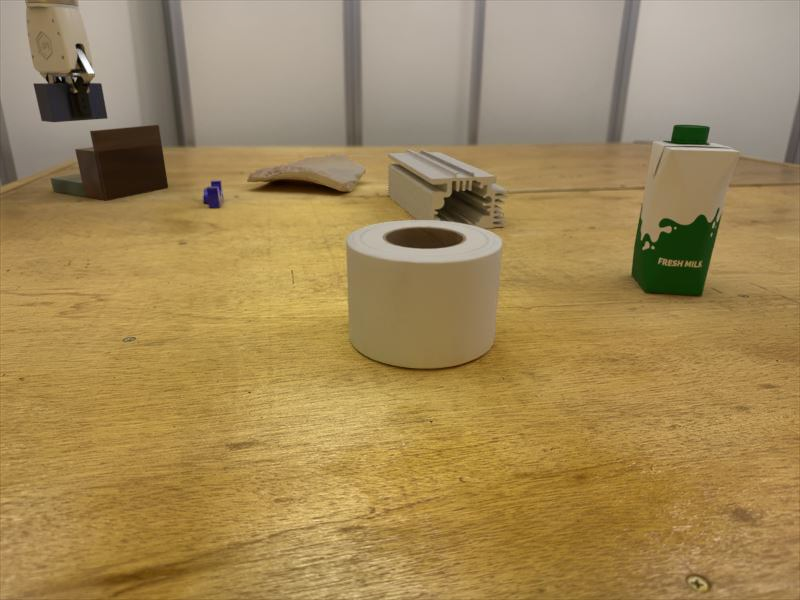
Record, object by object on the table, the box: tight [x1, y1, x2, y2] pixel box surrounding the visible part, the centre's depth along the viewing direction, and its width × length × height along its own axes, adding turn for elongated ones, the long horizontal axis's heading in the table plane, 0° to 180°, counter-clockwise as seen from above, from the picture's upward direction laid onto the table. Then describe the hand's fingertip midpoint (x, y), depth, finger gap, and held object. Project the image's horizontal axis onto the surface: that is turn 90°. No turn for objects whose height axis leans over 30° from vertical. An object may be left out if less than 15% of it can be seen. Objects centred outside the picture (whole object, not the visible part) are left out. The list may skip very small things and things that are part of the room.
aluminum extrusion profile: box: [387, 148, 510, 230], centre depth 109 cm, size 14×31×10 cm, turn 15°
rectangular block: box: [33, 82, 108, 123], centre depth 96 cm, size 4×10×6 cm, turn 152°
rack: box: [50, 124, 169, 202], centre depth 123 cm, size 18×16×14 cm
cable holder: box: [202, 179, 224, 209], centre depth 113 cm, size 8×4×4 cm, turn 11°
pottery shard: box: [246, 153, 367, 192], centre depth 131 cm, size 24×8×20 cm
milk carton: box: [630, 124, 742, 297], centre depth 69 cm, size 9×9×20 cm
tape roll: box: [345, 219, 503, 369], centre depth 57 cm, size 16×15×11 cm
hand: (74, 115), depth 97 cm, fingers closed on rectangular block, 3 cm apart
